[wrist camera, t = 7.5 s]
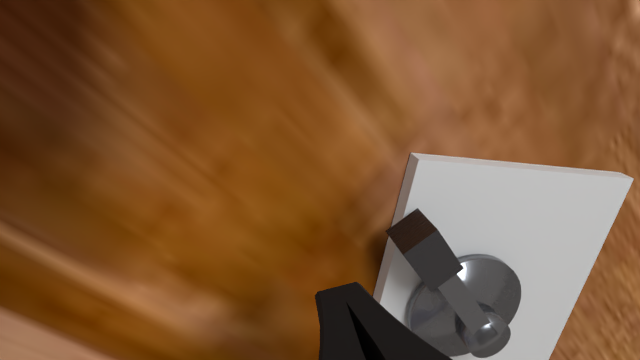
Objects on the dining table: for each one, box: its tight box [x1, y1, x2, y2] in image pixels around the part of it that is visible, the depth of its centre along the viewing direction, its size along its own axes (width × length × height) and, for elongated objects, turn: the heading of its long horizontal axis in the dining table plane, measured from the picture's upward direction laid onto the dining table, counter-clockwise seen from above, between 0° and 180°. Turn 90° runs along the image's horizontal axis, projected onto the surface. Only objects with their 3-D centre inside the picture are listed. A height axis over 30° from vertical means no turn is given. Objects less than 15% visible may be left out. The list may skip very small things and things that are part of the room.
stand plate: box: [373, 153, 634, 360], centre depth 27 cm, size 14×14×1 cm
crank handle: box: [386, 208, 521, 358], centre depth 24 cm, size 11×7×2 cm, turn 35°
